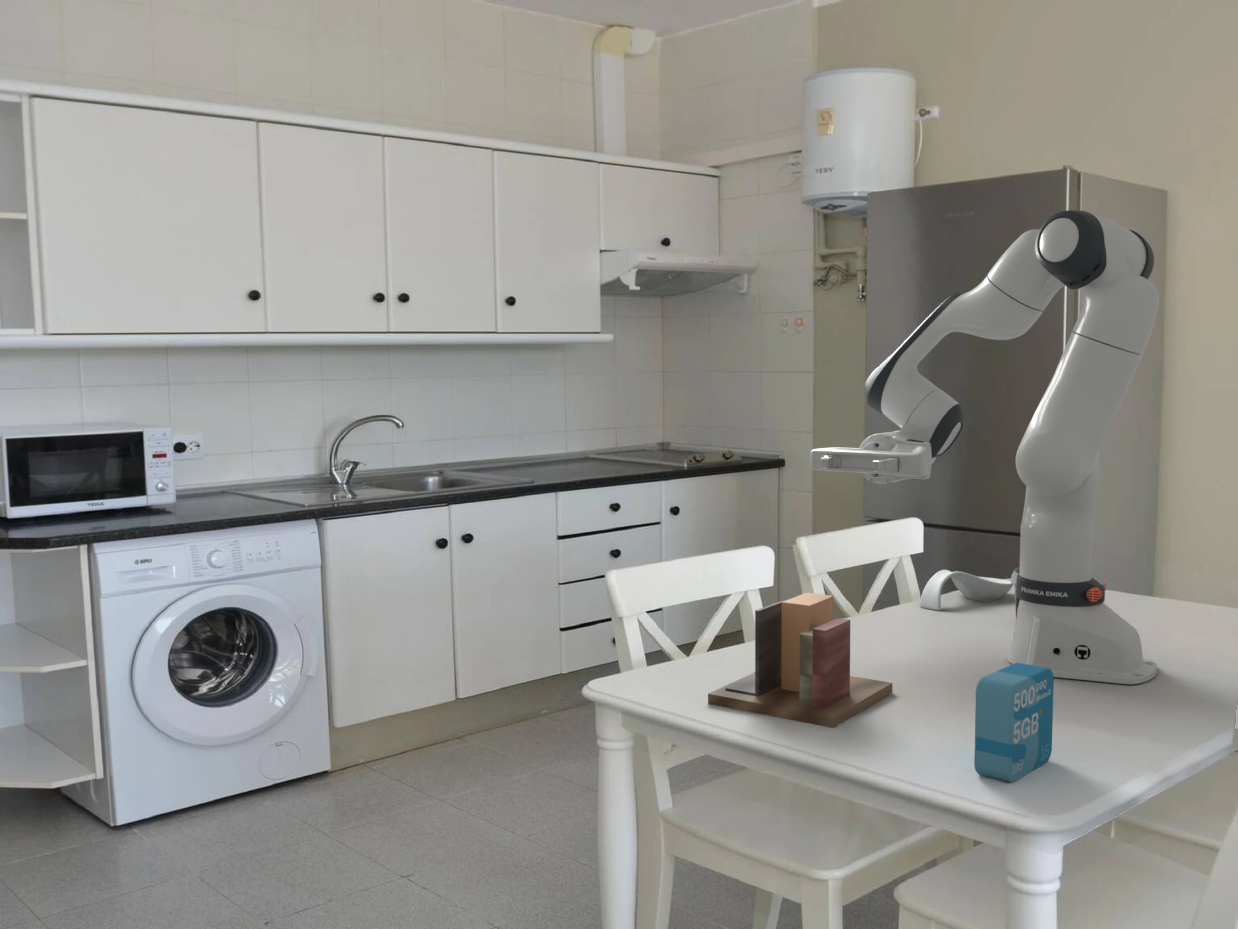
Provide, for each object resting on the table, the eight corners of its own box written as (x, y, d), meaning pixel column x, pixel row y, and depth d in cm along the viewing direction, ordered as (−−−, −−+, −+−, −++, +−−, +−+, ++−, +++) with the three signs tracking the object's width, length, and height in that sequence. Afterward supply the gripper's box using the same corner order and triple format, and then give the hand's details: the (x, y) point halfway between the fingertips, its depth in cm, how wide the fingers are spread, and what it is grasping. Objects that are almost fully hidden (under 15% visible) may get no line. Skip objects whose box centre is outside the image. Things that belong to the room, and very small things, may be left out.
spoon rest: (974, 590, 255) (975, 556, 254) (1024, 598, 246) (1025, 564, 245) (905, 606, 240) (905, 570, 239) (955, 616, 231) (956, 579, 230)
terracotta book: (833, 681, 181) (833, 596, 180) (809, 693, 175) (809, 605, 173) (806, 676, 184) (806, 592, 182) (781, 689, 177) (781, 602, 176)
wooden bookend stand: (892, 692, 180) (893, 600, 179) (833, 727, 164) (834, 626, 162) (773, 672, 192) (773, 586, 190) (708, 703, 175) (707, 609, 174)
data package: (1008, 786, 142) (1011, 686, 141) (973, 777, 145) (975, 679, 144) (1052, 760, 150) (1054, 666, 149) (1017, 752, 154) (1020, 659, 152)
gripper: (829, 438, 216) (793, 443, 205) (939, 442, 204) (908, 448, 193) (829, 472, 217) (793, 480, 206) (939, 479, 205) (907, 487, 194)
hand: (849, 465), depth 199 cm, fingers open, 8 cm apart
